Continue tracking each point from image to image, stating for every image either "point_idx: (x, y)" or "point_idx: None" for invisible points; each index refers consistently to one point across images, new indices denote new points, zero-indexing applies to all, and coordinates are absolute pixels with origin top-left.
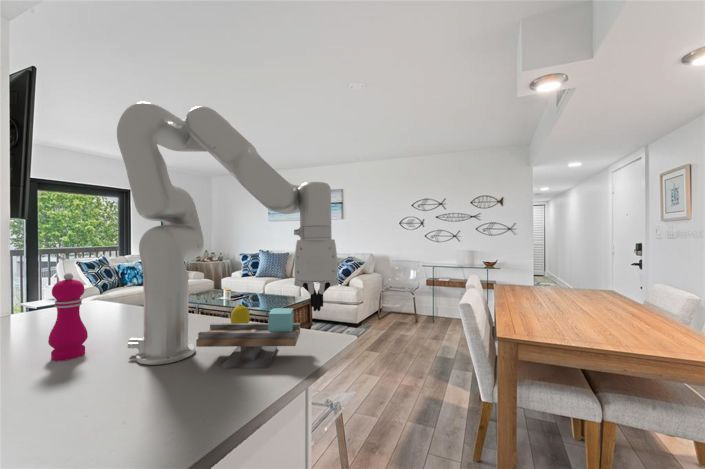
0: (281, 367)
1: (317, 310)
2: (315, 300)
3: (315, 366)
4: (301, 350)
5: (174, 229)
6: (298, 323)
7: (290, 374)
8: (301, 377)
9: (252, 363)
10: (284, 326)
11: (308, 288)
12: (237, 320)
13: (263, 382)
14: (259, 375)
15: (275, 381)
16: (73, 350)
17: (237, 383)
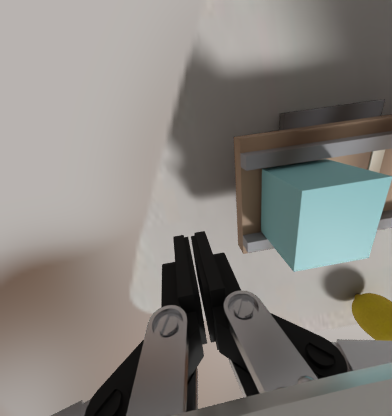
0: (249, 120)
1: (186, 238)
2: (202, 266)
3: (172, 136)
4: (223, 221)
5: None
6: (251, 249)
7: (221, 79)
8: (191, 62)
9: (319, 115)
10: (294, 172)
11: (278, 327)
12: (384, 303)
13: (276, 20)
14: (292, 65)
15: (249, 29)
16: None
17: (336, 8)
